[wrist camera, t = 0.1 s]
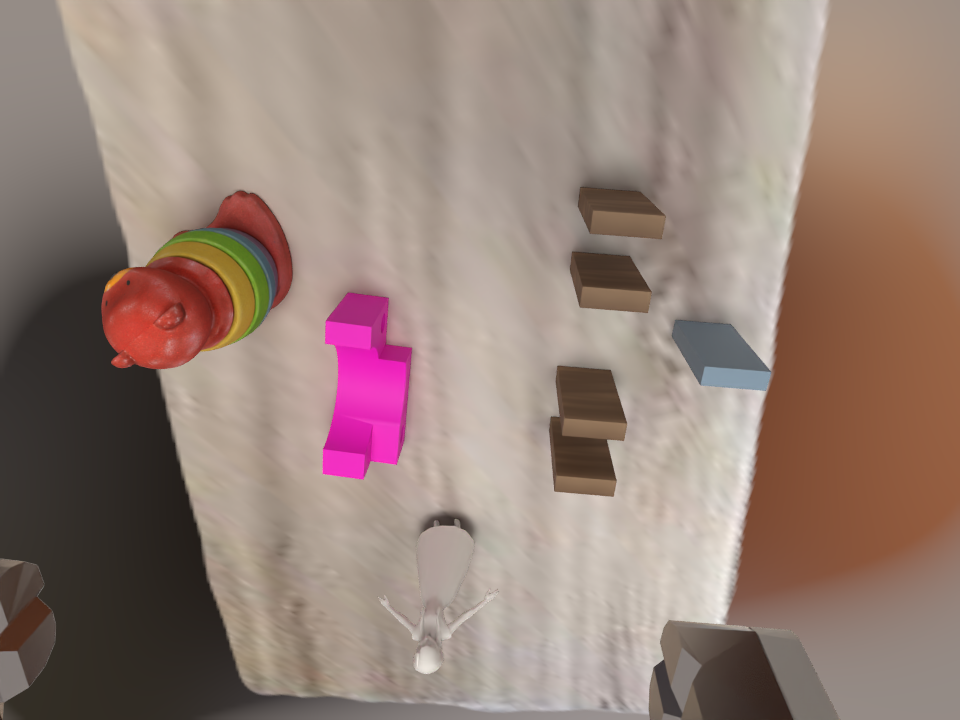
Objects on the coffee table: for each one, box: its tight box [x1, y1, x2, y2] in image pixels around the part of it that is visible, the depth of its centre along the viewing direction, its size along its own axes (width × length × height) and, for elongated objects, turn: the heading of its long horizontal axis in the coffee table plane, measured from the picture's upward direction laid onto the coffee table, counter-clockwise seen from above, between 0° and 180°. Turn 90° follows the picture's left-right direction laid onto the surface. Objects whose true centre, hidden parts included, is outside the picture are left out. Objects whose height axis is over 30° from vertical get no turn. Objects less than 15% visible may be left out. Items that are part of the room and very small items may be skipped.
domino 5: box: [672, 320, 771, 391], centre depth 53 cm, size 2×5×10 cm, turn 86°
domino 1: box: [578, 187, 666, 239], centre depth 48 cm, size 2×5×10 cm, turn 86°
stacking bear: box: [102, 191, 292, 369], centre depth 49 cm, size 11×10×18 cm
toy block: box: [323, 293, 412, 479], centre depth 58 cm, size 15×6×8 cm, turn 173°
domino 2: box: [570, 252, 652, 313], centre depth 51 cm, size 2×5×10 cm, turn 86°
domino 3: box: [556, 366, 627, 441], centre depth 55 cm, size 2×5×10 cm, turn 86°
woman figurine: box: [378, 519, 499, 674], centre depth 60 cm, size 12×4×18 cm, turn 98°
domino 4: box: [549, 417, 616, 497], centre depth 57 cm, size 2×5×10 cm, turn 86°
